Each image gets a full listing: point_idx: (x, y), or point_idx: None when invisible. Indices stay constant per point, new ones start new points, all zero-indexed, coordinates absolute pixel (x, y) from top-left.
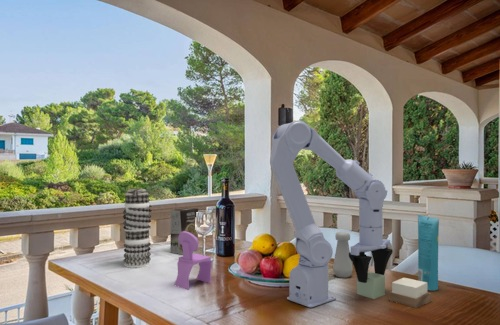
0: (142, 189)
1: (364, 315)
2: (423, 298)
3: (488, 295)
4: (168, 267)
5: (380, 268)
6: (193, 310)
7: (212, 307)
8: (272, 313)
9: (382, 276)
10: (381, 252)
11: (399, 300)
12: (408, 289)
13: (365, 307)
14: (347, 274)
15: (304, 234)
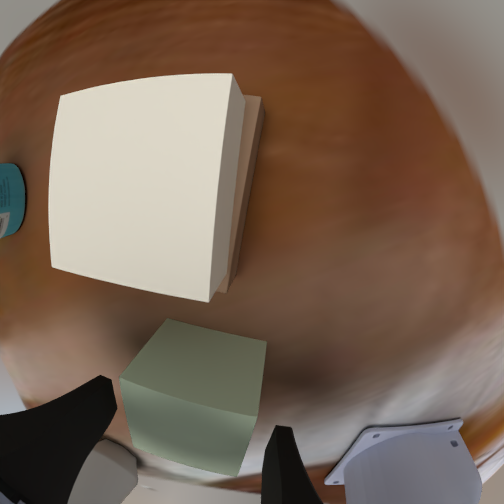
0: None
1: (479, 284)
2: None
3: (10, 51)
4: None
5: (88, 418)
6: (483, 472)
7: None
8: (492, 429)
9: (146, 387)
10: (31, 483)
11: (245, 213)
12: (229, 146)
13: (403, 323)
14: (116, 451)
15: None
